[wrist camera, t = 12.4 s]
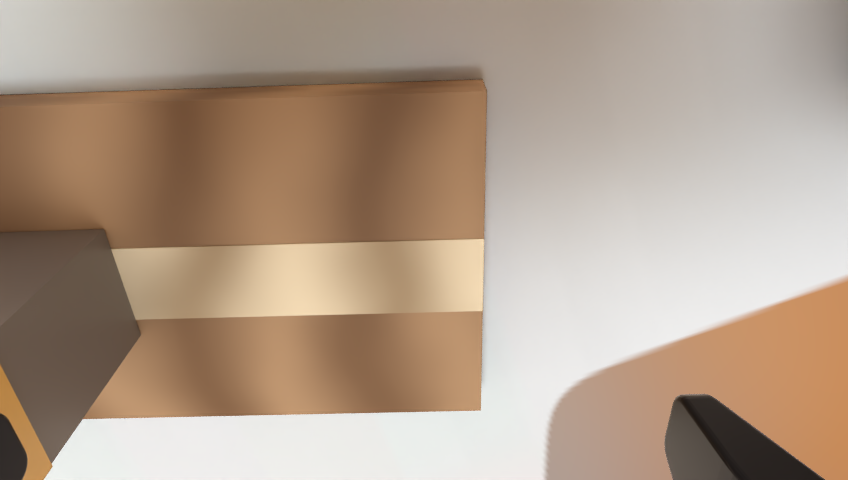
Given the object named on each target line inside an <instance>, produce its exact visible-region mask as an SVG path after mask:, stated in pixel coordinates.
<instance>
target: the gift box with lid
mask: <svg viewBox="0 0 848 480" xmlns="http://www.w3.org/2000/svg"><path fill="white" fill-rule="evenodd" d="M140 336H141V333H140V331H139V328H138V325H137V322H136V319H135V316H134V313H133V311H132V308H131V305H130V302H129V299H128V296H127V293H126V291H125V288H124V285H123V282H122V279H121V276H120V273H119V271H118V268H117V265H116V262H115V259H114V256H113V253H112V250H111V248H110V245H109V242H108V239H107V236H106V233H105V230H104V229H89V230H60V231H30V232H1V233H0V413H1V414H3V415H5V416H6V417H7V418H8V419H9V421H10V423H11V424H12V426H13V428H14V430H15V432H16V434H17V436H18V438H19V439H20V441H21V443H22V445H23V447H24V449H25V451H26V453H27V458H28V464H27V469H26V473H25V475H24V477H23V480H44V478H45V477H46V475H47V474H48V472H49V471H50V469H51V468H52V467H53V466H52V464H51V463H52V462H53V461H54V459H55V458H56V456H57V455H58V453H59V452H60V451H61V449H62V448H63V446H64V445H65V443H66V442H67V441H68V439H69V438H70V436H71V435H72V433H73V432H74V431H75V429H76V428H77V426H78V425H79V423H80V422H81V421H82V419H83V418H84V416H85V415H86V413H87V412H88V410H89V409H90V408H91V406H92V405H93V403H94V402H95V400H96V399H97V398H98V396H99V395H100V393H101V392H102V390H103V389H104V388H105V386H106V385H107V383H108V382H109V380H110V379H111V378H112V376H113V375H114V373H115V372H116V370H117V369H118V367H119V366H120V365H121V363H122V362H123V360H124V359H125V357H126V356H127V355H128V353H129V352H130V350H131V349H132V347H133V346H134V345H135V343H136V342H137V340H138V339H139V337H140Z"/></svg>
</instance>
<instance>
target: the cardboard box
mask: <svg viewBox="0 0 848 480" xmlns="http://www.w3.org/2000/svg"><path fill="white" fill-rule="evenodd" d="M486 111H487V90H486V87H485V85H484V82H483V79H478V80H447V81H417V82H386V83H356V84H325V85H295V86H264V87H234V88H203V89H173V90H142V91H112V92H81V93H51V94H20V95H0V233H1V232H30V231H60V230H89V229H104V230H105V233H106V236H107V239H108V242H109V245H110V248H111V250H112V253H113V256H114V259H115V262H116V265H117V268H118V271H119V273H120V276H121V279H122V282H123V285H124V288H125V291H126V293H127V296H128V299H129V302H130V305H131V308H132V311H133V313H134V316H135V319H136V322H137V325H138V328H139V331H140V333H141V336H140V337H139V339H138V340H137V342H136V343H135V345H134V346H133V347H132V349H131V350H130V352H129V353H128V355H127V356H126V357H125V359H124V360H123V362H122V363H121V365H120V366H119V367H118V369H117V370H116V372H115V373H114V375H113V376H112V378H111V379H110V380H109V382H108V383H107V385H106V386H105V388H104V389H103V390H102V392H101V393H100V395H99V396H98V398H97V399H96V400H95V402H94V403H93V405H92V406H91V408H90V409H89V410H88V412H87V413H86V415H85V416H84V418H83V419H102V418H149V417H195V416H242V415H289V414H335V413H382V412H429V411H475V410H481V366H482V315H483V271H484V213H485V162H486Z"/></svg>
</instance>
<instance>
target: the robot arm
mask: <svg viewBox="0 0 848 480" xmlns="http://www.w3.org/2000/svg"><path fill="white" fill-rule="evenodd" d="M665 452H666V457H667V460H668V464H669V468H670V471H671V474H672V478H673V480H825V479H824V478H822V477H821V476H819V475H818V474H817V473H815V472H814V471H813V470H811V469H810V468H809V467H807V466H806V465H805V464H803V463H802V462H800V461H799V460H798V459H796V458H795V457H794V456H792V455H791V454H790V453H788V452H787V451H786V450H784V449H783V448H782V447H780V446H779V445H778V444H776V443H775V442H773V441H772V440H771V439H769V438H768V437H767V436H765V435H764V434H763V433H761V432H760V431H759V430H757V429H756V428H755V427H753V426H752V425H751V424H749V423H748V422H747V421H745V420H743V419H742V418H741V417H740V416H738V415H737V414H735V413H734V412H733V411H732V410H730V409H729V408H728V407H726V406H725V405H724V404H722V403H721V402H720V401H718V400H717V399H715V398H714V397H712V396H710V395H707V394H689V395H680V396H677V397H676V399H675V400H674V402H673V406H672V410H671V414H670V419H669V423H668V427H667V431H666V436H665ZM27 464H28V458H27V453H26V451H25V449H24V447H23V445H22V443H21V441H20V439H19V438H18V436H17V434H16V432H15V430H14V428H13V426H12V424H11V423H10V421H9V419H8V418H7V417H6V416H5V415H3V414H1V413H0V480H23V477H24V475H25V473H26V469H27Z"/></svg>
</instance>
